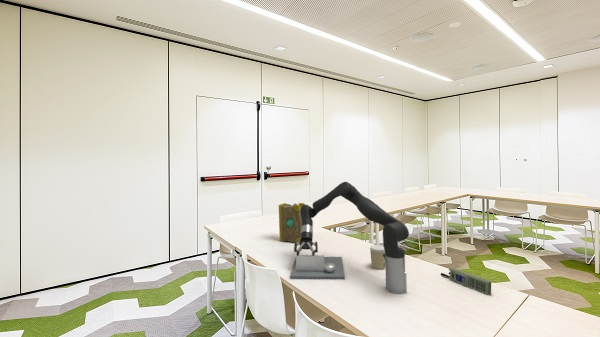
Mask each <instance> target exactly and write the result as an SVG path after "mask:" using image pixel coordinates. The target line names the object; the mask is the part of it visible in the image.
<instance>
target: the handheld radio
mask: <svg viewBox="0 0 600 337" xmlns="http://www.w3.org/2000/svg"><path fill="white" fill-rule="evenodd" d="M448 271H449V272H448V274H445V273H443V272H441V273H440V276H442V277H445V278H447V279H449V281H452V282H454V283H457V284H459V285H461V286H464V287H466V288H469V289H471V290H474V291H477V292H479V293H482V294H484V295H487V296H490V295H492V281H491V280H489V279H486V278H483V277H481V276H477V275H475V274H471V273H468V272H466V271H463V270H460V269H457V268H456V267H451V266H448Z"/></svg>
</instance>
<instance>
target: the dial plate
mask: <svg viewBox="0 0 600 337" xmlns="http://www.w3.org/2000/svg"><path fill="white" fill-rule="evenodd" d="M326 263H333V264H335V271H334V272H326V271H325V270H297V268H296V256H295V258H294V261H293V264H292V267H291V271H290V275H289V279H290V280H346V275H345V268H344V263H343V257H342V256H324V265H325V264H326Z"/></svg>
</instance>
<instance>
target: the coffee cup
mask: <svg viewBox="0 0 600 337" xmlns="http://www.w3.org/2000/svg"><path fill="white" fill-rule="evenodd" d="M369 250H370V251H369V252H370V261H371V269H374V270H379V271H380V270H381V271H383V270H386V269H385V250H384V246H383V245H382V244H372V245H371V246H370V247H369Z"/></svg>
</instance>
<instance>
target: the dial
mask: <svg viewBox="0 0 600 337" xmlns="http://www.w3.org/2000/svg"><path fill="white" fill-rule="evenodd" d="M295 257H296V268H297V270H325V271H326V272H334V271H335V264H333V263H326V264H325V265H324V257H325V255H317V254H315V255H312V254H311V255H302V254H301V255H300V254H299V255H297V254H296V256H295Z"/></svg>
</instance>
